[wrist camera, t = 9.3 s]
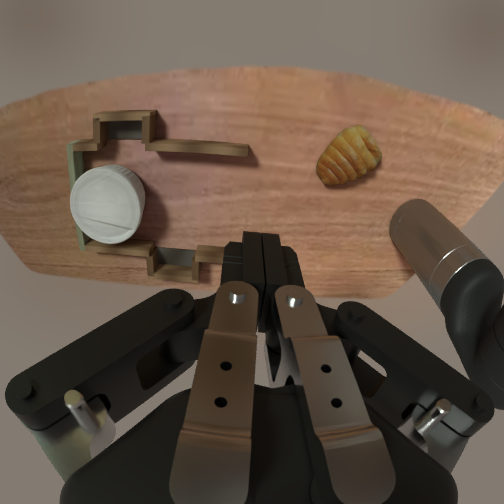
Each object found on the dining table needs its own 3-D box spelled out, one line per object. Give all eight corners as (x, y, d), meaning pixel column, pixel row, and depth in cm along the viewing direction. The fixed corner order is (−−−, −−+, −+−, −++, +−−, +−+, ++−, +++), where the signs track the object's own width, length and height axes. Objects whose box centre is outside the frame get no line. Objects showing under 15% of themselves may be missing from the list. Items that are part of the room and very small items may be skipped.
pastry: (331, 192, 43) (338, 203, 39) (303, 157, 40) (308, 165, 37) (381, 155, 39) (392, 162, 36) (356, 117, 37) (365, 121, 33)
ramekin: (104, 235, 45) (91, 253, 41) (74, 174, 40) (57, 187, 35) (163, 215, 44) (154, 232, 39) (134, 146, 38) (120, 156, 34)
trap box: (251, 115, 36) (252, 117, 34) (234, 274, 49) (233, 286, 47) (76, 113, 35) (65, 116, 32) (91, 260, 48) (84, 270, 45)
